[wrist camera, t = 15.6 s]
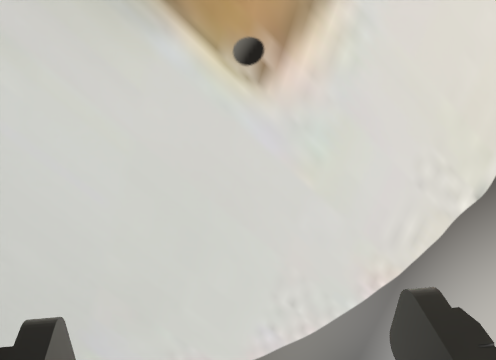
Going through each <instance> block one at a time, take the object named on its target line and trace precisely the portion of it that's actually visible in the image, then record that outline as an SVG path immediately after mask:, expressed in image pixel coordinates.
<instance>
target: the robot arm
mask: <svg viewBox="0 0 496 360" xmlns="http://www.w3.org/2000/svg"><path fill="white" fill-rule="evenodd" d="M390 344H391V349H392V352H393V355H394V357H395V359H396V360H496V347H495V346H494V342H493V341H492V339H491V338H490V337H489V335H488V334H487V333H486V331H485V330H484V329H483V327H482V326H481V324H480V323H478V322H477V321H476V320H475V319H474V318H472V317H471V316H470V315H468V314H467V313H466V312H465V311H463V310H462V309H461V308H459V307H458V308H451V306H450V305H449V304H448V302H447V300H446V299H445V298H444V296H443V295H442V293H441V292H440V291H439V290H438V289H437V288H434V287H429V288H418V289H405V290H403V291H402V292H401V294H400V298H399V301H398V305H397V308H396V311H395V315H394V318H393V322H392V326H391V329H390ZM0 360H76V359H75V356H74V352H73V348H72V345H71V341H70V338H69V334H68V331H67V327H66V324H65V321H64V319H63V318H62V317H55V318H43V319H31V320H26V321H25V322H24V323H23V324H22V326H21V328H20V331H19V333H18V336H17V338H16V341H15V344H14V346H12V347H1V348H0Z"/></svg>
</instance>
